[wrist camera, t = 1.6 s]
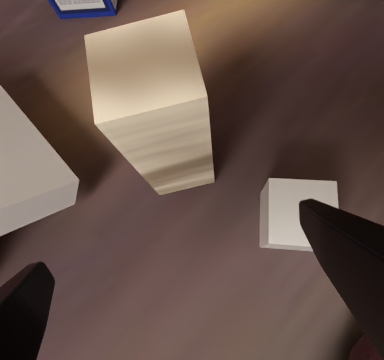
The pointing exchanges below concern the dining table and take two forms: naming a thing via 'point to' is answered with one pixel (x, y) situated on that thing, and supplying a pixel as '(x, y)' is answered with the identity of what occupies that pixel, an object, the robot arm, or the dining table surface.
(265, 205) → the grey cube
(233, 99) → the dining table surface
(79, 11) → the milk carton
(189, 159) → the birch block
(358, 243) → the robot arm
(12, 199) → the pizza boxes
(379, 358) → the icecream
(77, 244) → the dining table surface
